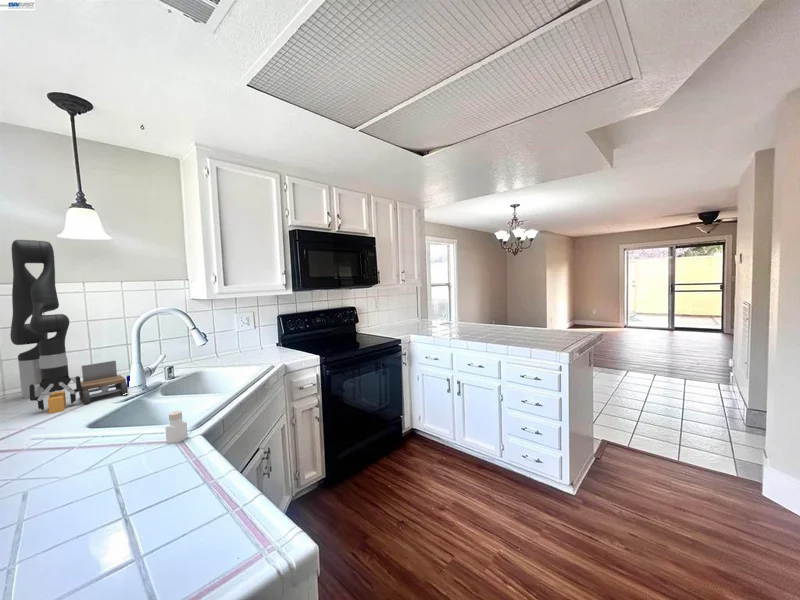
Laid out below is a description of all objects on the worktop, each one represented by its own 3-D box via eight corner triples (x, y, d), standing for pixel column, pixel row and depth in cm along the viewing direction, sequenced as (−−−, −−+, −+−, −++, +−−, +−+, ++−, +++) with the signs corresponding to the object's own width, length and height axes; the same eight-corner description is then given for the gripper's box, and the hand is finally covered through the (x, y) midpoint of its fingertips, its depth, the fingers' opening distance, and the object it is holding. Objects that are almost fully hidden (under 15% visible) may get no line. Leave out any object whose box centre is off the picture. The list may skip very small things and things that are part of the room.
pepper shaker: (177, 448, 93) (175, 415, 93) (165, 447, 94) (163, 415, 94) (189, 441, 97) (186, 410, 97) (177, 440, 98) (175, 409, 98)
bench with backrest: (79, 398, 141) (76, 365, 141) (120, 390, 152) (117, 359, 151) (85, 406, 131) (81, 370, 131) (128, 396, 142) (125, 363, 141)
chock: (49, 415, 123) (47, 399, 123) (52, 407, 132) (50, 392, 132) (64, 412, 126) (62, 397, 126) (66, 404, 135) (64, 390, 134)
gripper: (78, 360, 136) (81, 399, 137) (25, 368, 125) (30, 410, 126) (80, 362, 131) (84, 402, 132) (26, 370, 120) (30, 414, 121)
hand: (57, 406), depth 129 cm, fingers open, 7 cm apart
